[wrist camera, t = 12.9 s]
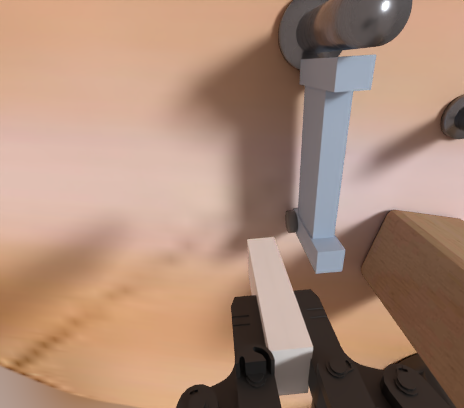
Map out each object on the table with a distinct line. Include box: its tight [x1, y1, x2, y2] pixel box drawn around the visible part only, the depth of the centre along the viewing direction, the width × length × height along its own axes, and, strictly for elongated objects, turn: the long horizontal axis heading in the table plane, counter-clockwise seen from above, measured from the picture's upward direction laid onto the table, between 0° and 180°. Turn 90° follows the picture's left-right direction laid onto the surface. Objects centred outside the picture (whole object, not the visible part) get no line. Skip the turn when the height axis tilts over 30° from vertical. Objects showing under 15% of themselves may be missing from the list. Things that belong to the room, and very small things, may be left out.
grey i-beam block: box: [285, 55, 376, 274], centre depth 24 cm, size 17×3×8 cm, turn 4°
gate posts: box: [278, 0, 464, 139], centre depth 21 cm, size 6×23×11 cm, turn 66°
